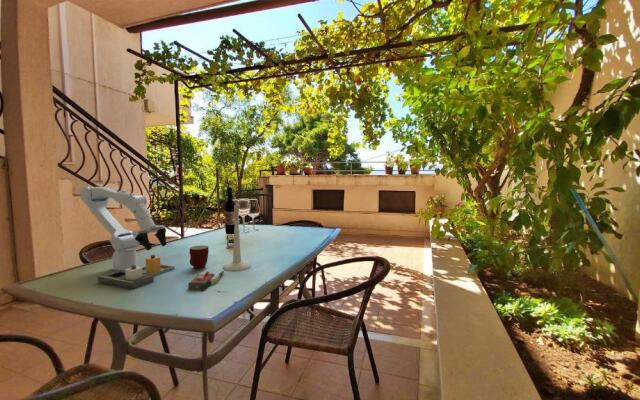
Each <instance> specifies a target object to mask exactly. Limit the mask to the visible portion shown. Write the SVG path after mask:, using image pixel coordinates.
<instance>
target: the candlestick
mask: <svg viewBox="0 0 640 400" xmlns="http://www.w3.org/2000/svg"><path fill="white" fill-rule="evenodd" d="M239 207H240V206H239V204H234V205H233V210H234V211H233V214H234V218H232V221H233V224H234V229H233V230H234V231H233V255H232V256H233V259H232V261H228V262H226V263H225V264H224V265H223V266H222V269H223V271H227V272H241V271H240V270H242V271H246V270H249V269H251V267H252V264H251V263H250V262H249V261H247V260H242V256H241V243H240V242H241V240H240V227H239V224H240V221H241V218H240V217H239V215H240V212H239ZM248 268H249V269H248ZM245 269H246V270H245Z"/></svg>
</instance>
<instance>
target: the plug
mask: <svg viewBox="0 0 640 400" xmlns="http://www.w3.org/2000/svg"><path fill="white" fill-rule="evenodd" d="M160 264H161V257H160V256H156V255H155V254H150V257H146V258H145V266H146V272H149V273H155V272H157V271H160V270H161V266H160Z"/></svg>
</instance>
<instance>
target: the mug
mask: <svg viewBox="0 0 640 400" xmlns="http://www.w3.org/2000/svg"><path fill="white" fill-rule="evenodd" d="M209 250H210V249H209V246H208V245H194V246H191V247H189V256H190V258H189V264H190V266H192V268H194V269H195V270H201V269H205V268H206V266H207V264H208V258H209Z"/></svg>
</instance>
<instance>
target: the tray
mask: <svg viewBox="0 0 640 400" xmlns="http://www.w3.org/2000/svg"><path fill="white" fill-rule="evenodd" d="M160 266H161V270H160V271H157V272H155V273H149V272H146V265H145V266H143V267H142V266H141V268H142V274H147V275H153V276H154V277H156V276H159V275H162V274H164V273H167V272H170V271H173V270H175V269H176V268H175V265H168V264H161V263H160Z"/></svg>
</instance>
